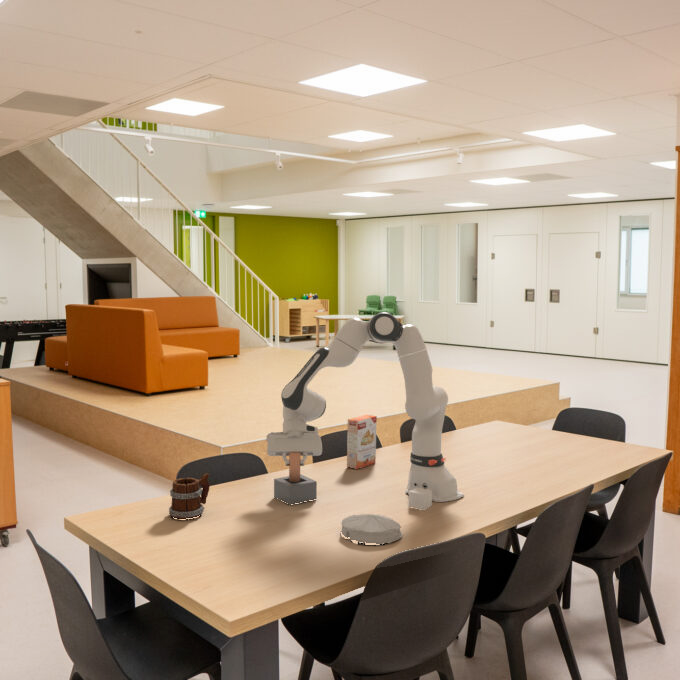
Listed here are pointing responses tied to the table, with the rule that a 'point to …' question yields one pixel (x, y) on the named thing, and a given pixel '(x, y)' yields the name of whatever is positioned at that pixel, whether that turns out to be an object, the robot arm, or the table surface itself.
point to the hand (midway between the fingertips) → (294, 465)
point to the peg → (294, 466)
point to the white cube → (420, 498)
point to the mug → (188, 497)
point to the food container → (371, 528)
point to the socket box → (295, 489)
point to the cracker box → (361, 441)
